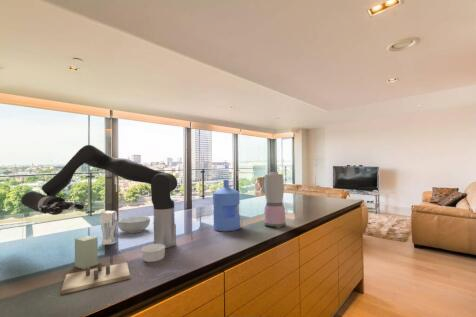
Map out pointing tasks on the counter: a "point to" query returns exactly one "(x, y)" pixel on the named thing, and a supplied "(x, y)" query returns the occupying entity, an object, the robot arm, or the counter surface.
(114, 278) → the peg board
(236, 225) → the water jug
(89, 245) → the green block
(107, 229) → the beer glass
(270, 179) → the blender
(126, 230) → the cereal bowl
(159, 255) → the ramekin
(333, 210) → the counter surface
